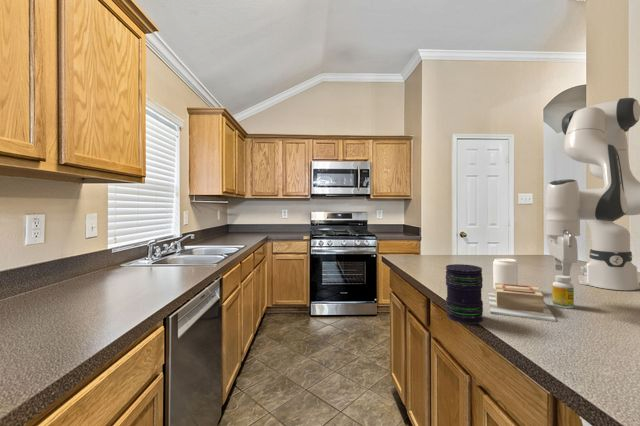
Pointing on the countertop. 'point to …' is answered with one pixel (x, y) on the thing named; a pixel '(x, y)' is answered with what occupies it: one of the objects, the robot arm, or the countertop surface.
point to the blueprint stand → (519, 302)
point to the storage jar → (464, 293)
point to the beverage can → (505, 271)
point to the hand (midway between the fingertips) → (561, 272)
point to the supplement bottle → (563, 292)
